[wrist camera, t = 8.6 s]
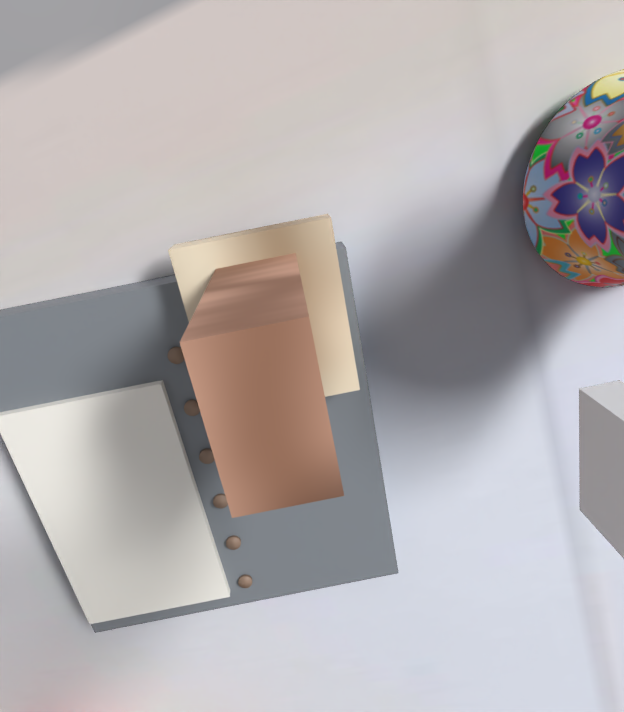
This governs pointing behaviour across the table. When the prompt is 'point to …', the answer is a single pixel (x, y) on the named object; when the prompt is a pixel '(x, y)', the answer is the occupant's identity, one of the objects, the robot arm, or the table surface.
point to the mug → (581, 187)
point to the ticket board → (167, 465)
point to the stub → (268, 358)
